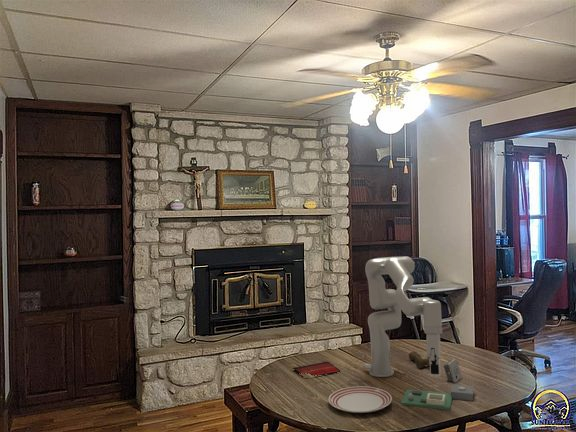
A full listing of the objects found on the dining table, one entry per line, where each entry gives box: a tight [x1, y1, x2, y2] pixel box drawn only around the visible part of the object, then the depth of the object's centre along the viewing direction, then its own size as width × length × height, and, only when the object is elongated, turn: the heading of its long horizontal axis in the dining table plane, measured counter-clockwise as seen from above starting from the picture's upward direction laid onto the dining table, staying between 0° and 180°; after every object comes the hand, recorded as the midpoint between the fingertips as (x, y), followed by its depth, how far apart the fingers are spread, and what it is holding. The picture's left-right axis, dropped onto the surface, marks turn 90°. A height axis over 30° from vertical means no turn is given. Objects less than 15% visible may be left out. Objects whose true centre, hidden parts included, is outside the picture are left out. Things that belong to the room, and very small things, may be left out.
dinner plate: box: [328, 385, 393, 414], centre depth 213 cm, size 27×27×3 cm
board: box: [400, 388, 453, 411], centre depth 214 cm, size 20×16×3 cm
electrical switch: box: [443, 358, 463, 384], centre depth 238 cm, size 9×5×9 cm, turn 141°
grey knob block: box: [450, 384, 474, 402], centre depth 217 cm, size 9×9×4 cm
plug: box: [429, 356, 442, 377], centre depth 209 cm, size 4×4×8 cm
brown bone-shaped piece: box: [408, 351, 430, 370], centre depth 261 cm, size 6×10×20 cm
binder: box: [292, 361, 341, 376], centre depth 259 cm, size 16×2×21 cm
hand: (435, 371), depth 209 cm, fingers closed on plug, 4 cm apart
